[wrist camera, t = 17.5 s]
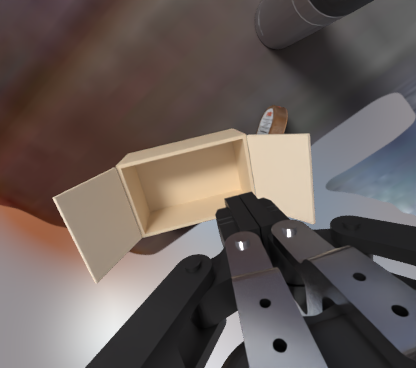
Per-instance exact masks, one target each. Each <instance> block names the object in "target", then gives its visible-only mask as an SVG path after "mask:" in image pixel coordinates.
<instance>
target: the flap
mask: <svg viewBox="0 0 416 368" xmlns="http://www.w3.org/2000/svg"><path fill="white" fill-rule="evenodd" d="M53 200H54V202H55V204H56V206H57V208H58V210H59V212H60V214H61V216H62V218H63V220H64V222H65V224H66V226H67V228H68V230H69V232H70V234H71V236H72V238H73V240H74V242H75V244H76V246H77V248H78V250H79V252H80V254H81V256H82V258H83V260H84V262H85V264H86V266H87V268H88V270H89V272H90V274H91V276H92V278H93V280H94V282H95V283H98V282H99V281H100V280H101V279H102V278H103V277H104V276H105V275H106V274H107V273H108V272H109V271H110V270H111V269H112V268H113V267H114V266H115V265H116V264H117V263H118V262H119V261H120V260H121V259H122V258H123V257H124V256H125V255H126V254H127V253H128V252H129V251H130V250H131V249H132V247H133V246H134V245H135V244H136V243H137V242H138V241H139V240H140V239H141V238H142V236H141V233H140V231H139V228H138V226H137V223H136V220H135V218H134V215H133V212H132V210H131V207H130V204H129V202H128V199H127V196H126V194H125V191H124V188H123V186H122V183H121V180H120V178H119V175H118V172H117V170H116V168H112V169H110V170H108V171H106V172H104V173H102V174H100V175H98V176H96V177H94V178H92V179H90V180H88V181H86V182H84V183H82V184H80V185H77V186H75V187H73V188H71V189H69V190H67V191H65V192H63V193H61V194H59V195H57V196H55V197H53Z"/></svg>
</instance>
